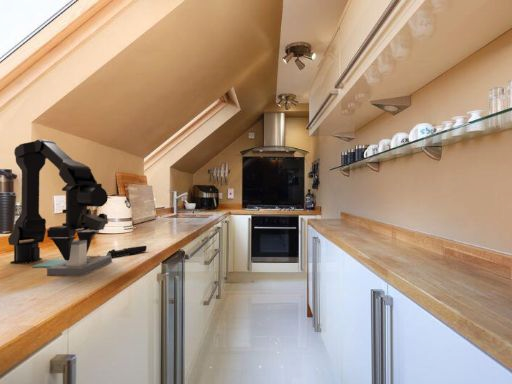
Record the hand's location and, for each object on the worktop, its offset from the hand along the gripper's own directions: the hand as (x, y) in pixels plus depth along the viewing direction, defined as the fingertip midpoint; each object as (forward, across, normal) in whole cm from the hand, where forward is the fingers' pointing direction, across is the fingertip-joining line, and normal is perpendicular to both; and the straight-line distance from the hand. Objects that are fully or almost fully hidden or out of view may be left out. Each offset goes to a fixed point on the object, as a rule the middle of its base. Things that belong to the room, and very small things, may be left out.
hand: (76, 257), depth 96 cm
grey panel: (+4, +3, 0) cm, 5 cm away
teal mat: (+4, +8, +11) cm, 14 cm away
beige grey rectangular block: (+4, 0, 0) cm, 4 cm away
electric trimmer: (+5, +24, -5) cm, 25 cm away
